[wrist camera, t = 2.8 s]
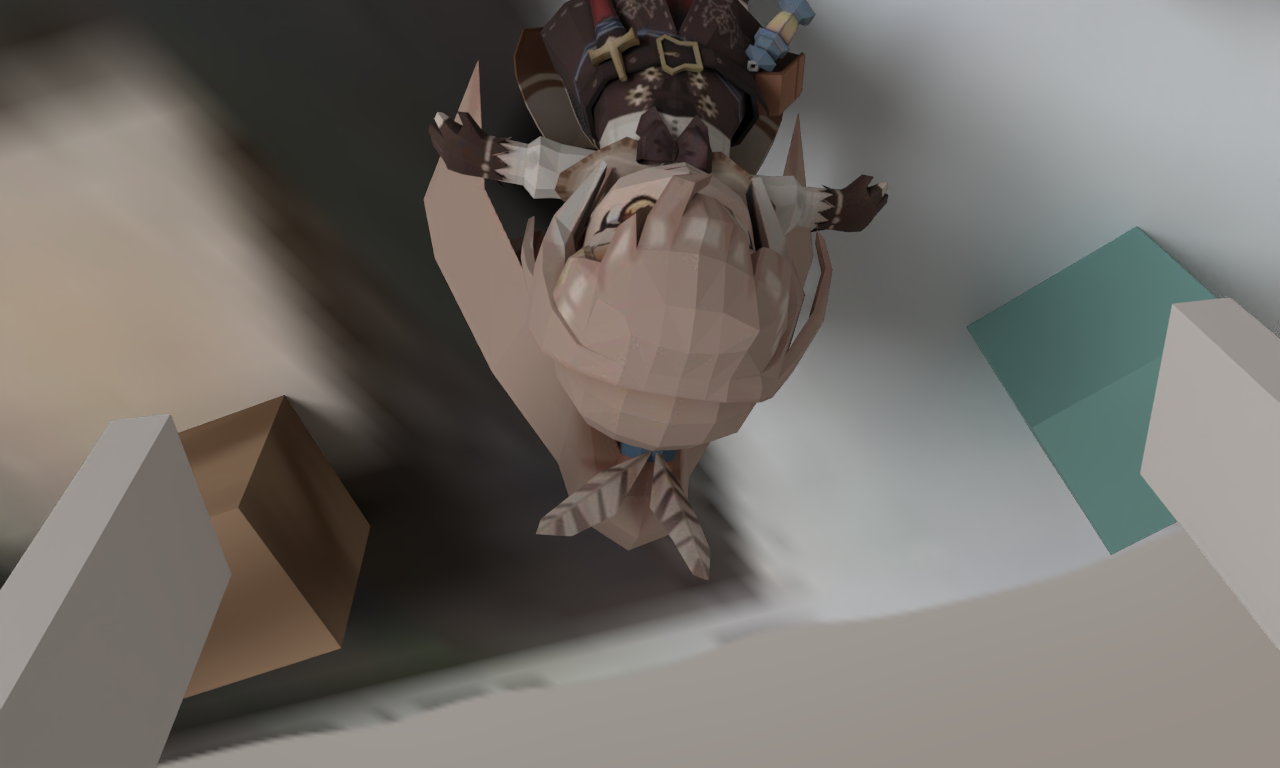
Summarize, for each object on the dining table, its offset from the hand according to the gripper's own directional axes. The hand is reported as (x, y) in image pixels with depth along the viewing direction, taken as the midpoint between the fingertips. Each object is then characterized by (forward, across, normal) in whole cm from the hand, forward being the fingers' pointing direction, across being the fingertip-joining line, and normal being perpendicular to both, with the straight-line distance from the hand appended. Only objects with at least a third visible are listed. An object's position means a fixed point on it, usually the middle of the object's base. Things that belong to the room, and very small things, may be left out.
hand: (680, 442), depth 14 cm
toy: (+14, 0, 0) cm, 14 cm away
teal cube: (+14, +12, -8) cm, 20 cm away
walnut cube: (+14, -12, -10) cm, 20 cm away
